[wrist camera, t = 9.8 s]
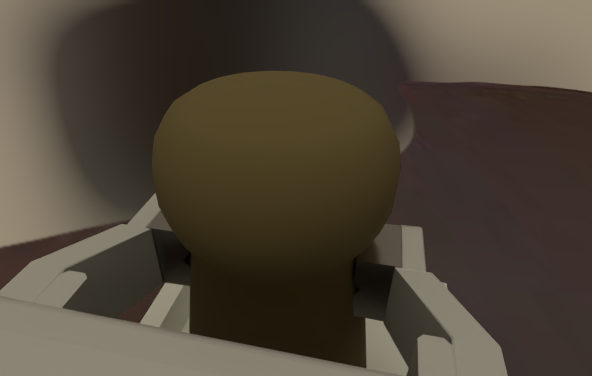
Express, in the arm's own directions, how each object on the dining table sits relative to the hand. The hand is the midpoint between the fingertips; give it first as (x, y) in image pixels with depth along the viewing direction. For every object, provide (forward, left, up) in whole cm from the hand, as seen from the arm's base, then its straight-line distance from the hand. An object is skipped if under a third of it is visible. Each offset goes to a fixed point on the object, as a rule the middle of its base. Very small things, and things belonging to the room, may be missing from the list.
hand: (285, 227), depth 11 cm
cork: (0, +1, -7) cm, 7 cm away
